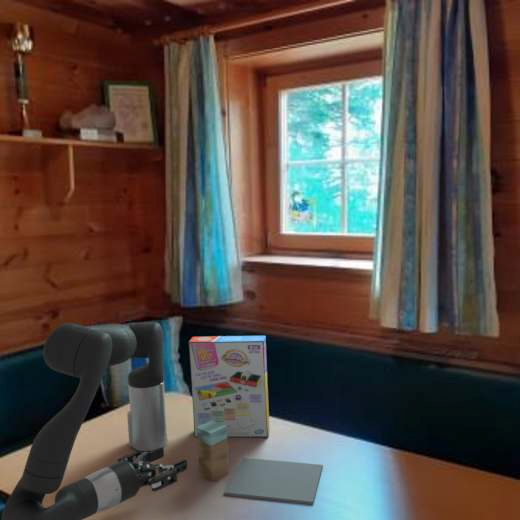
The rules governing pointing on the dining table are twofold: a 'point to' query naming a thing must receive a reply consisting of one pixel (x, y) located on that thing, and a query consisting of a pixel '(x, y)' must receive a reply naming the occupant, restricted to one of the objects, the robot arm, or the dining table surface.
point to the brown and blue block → (212, 450)
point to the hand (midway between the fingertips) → (174, 457)
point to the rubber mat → (275, 480)
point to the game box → (230, 383)
